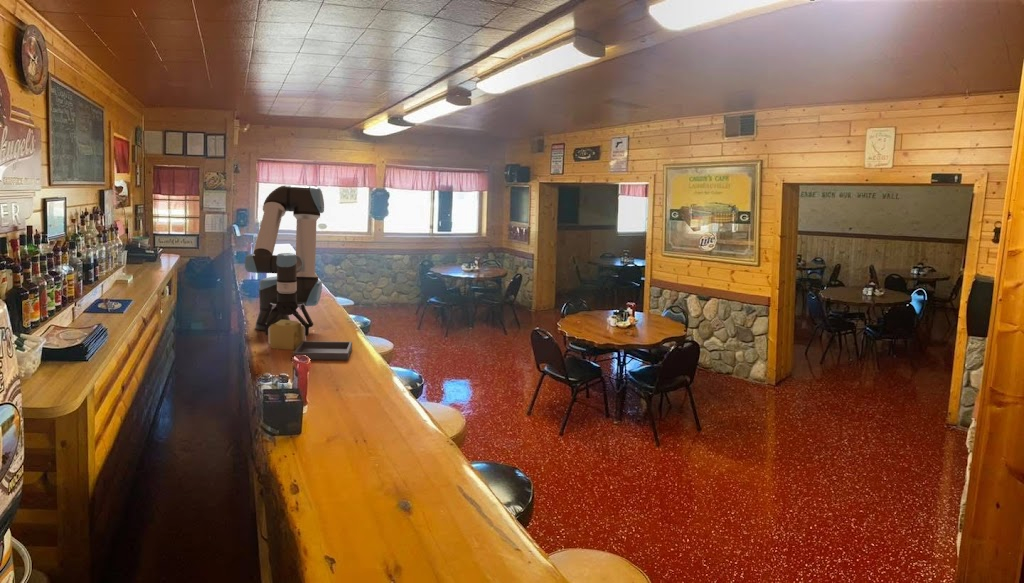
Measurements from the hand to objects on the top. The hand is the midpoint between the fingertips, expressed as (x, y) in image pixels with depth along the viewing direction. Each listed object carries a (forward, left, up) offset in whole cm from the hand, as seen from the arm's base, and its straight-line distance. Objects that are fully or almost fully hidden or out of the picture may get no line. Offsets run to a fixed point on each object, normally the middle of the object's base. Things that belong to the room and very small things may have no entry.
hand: (287, 343), depth 263 cm
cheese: (0, 0, -2) cm, 2 cm away
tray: (+12, +16, -1) cm, 20 cm away
